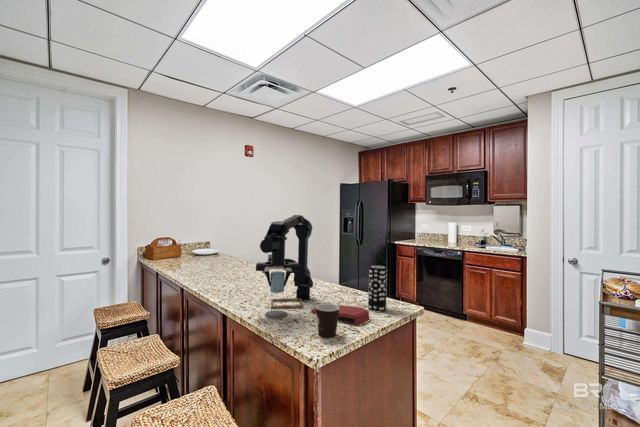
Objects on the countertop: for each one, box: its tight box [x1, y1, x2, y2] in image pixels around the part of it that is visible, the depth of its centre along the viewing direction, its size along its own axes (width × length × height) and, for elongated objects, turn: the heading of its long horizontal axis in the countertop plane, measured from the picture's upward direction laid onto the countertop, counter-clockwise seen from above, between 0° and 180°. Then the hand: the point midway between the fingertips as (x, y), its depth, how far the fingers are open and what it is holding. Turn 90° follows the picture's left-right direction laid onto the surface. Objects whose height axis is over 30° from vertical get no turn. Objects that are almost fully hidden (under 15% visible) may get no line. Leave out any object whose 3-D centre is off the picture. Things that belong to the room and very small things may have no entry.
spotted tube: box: [367, 264, 388, 312], centre depth 140 cm, size 8×8×20 cm
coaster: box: [264, 309, 289, 320], centre depth 129 cm, size 10×10×1 cm
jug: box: [269, 270, 286, 294], centre depth 128 cm, size 8×6×8 cm
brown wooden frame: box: [270, 297, 304, 310], centre depth 144 cm, size 15×12×1 cm
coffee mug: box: [315, 303, 339, 339], centre depth 111 cm, size 12×9×10 cm
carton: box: [311, 304, 370, 326], centre depth 130 cm, size 12×5×25 cm
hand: (277, 286), depth 129 cm, fingers closed on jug, 6 cm apart
